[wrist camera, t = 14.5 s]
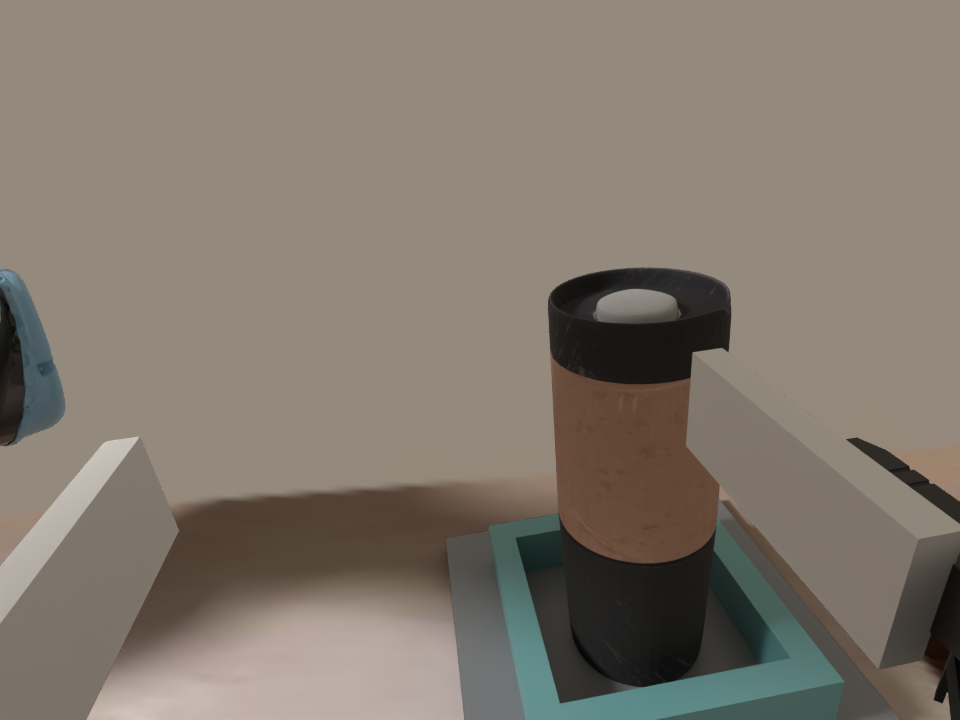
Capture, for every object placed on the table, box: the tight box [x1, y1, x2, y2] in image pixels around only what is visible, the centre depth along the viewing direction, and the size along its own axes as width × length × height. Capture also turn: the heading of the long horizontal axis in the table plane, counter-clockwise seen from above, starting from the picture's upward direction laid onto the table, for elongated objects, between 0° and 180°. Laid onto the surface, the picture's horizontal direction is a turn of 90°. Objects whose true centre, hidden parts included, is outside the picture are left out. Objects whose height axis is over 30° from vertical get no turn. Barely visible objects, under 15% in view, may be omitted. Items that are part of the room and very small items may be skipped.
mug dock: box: [446, 500, 900, 720], centre depth 32 cm, size 20×20×4 cm
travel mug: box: [548, 268, 731, 687], centre depth 28 cm, size 8×8×20 cm
